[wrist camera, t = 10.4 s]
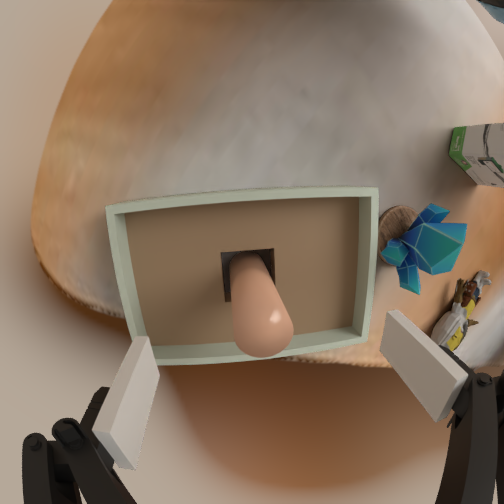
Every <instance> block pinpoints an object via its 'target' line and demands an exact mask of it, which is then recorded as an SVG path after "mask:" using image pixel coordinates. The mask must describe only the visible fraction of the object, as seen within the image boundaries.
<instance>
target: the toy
mask: <svg viewBox="0 0 504 504" xmlns="http://www.w3.org/2000/svg"><path fill="white" fill-rule="evenodd" d="M487 277H489V273H488V272H485V271H479V272H478V274H477V275H476V277H475V279H474V280H473V282H471V281H467V283H466V284H465V286H464V287H463V283H464V280H462V279H461V278H460V279H458V280H457V286H456V294H455V297H454V303H453V307H452V311H449V312H446V313H445V314H444V315H443V316H442V317H441V319H440V320H439V321H438V322H437V324H436V325H435V326H434V329H433V332H432V334H431V337H430V339H431V340H432V341H434V342H435V343H436V344H437V345H438V346H439V345H442V346H444V347H446V348H448V349H450V350H451V351H454V350H455V349H456V348H457V347H458V346H459V344H460V343H461V341H462V340H463V338H464V337H465V335H466V332H467V330H468V327H469V326H471V325H475V324H478V322H477V321H473V320H469V319H468V317H469V316H470V314H471V312H472V311H473V309H474V307H475V306H476V305H477V303H478V302H479V301H480V299H481V297H478V296H479V294H481V292H482V290H481V289H482V287H483V286H484V285H490V284H491V281H490V280H489V279H485V278H487ZM468 280H469V279H468Z"/></svg>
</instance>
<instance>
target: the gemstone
mask: <svg viewBox="0 0 504 504" xmlns="http://www.w3.org/2000/svg"><path fill="white" fill-rule="evenodd" d="M449 212H450V211H449V210H446V209H444V208H441V207H439V206H436V205H434V204H430V205H429V206H428V207H427V208H425V209H424V210H423V211H422V212H421V213H420V214H419V215H418V214H417V213H416V212H415V211H414V210H413V209H412V208H410V207H406V206H395V207H392V208H390V209H389V210H387V211H386V212H385V213H384V214H383V215H382V217H381V218H380V220H379V222H378V244H377V253H378V255H379V257H380V258H381V259H382V260H383V261H384V262H386V263H388V264H390V265H392V266H396V269H397V272H398V275H399V281H400V287H402V288H404V289H407V290H409V291H411V292H414V293H416V294H418V295H420V287H421V286H420V280H419V274H418V268H419V269H421V270H423V271H425V272H427V273H429V274H431V275H436V274H440V273H445V272H449V271H451V270H452V268H453V266H454V264H455V262H456V260H457V258H458V255H459V253H460V251H461V249H462V246H463V244H464V241H465V236H466V229H467V224H461V223H440V222H441V221H442V220H443V219H444V218H445V217H446V216H447V214H448V213H449ZM417 267H418V268H417Z"/></svg>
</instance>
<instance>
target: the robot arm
mask: <svg viewBox="0 0 504 504" xmlns="http://www.w3.org/2000/svg"><path fill="white" fill-rule="evenodd" d="M476 1H478V2H479V3H481V5H482V6H483V7H484V8H485V9H486V10H487V11H488V12H489V14H490V15H491V16H492V17H493V18H494V19H496V20H497V21H499V22H501V23H503V24H504V0H476ZM380 352H381V353H382V354H383V355H384V357H385V358H386V359H387V360H388V362H389V363H390V364H391V365H392V367H393V368H394V369H395V370H396V372H397V373H398V374H399V375H400V377H401V378H402V379H403V381H404V382H405V383H406V384H407V386H408V387H409V388H410V390H411V391H412V392H413V394H414V395H415V396H416V397H417V399H418V400H419V401H420V403H421V404H422V405H423V407H424V408H425V409H426V410H427V412H428V413H429V415H430V416H431V417H432V418H433V420H434V421H435V422H438V421H440V420H442V419H444V418H446V417H447V416H448V414H449V412H450V410H451V409H453V411H455V413H454V414H453V416H452V418H451V420H450V421H449V423H448V425H447V428H448V427H449V426H450V424H451V423H452V426H451V434H450V440H449V447H448V452H447V458H446V463H445V467H444V472H443V477H442V480H441V485H440V489H439V492H438V495H437V499H436V502H435V504H492V501H493V494H494V488H495V480H496V484H497V496H498V504H504V370H503V372H502V374H501V376H498V377H494V378H492V377H491V376H489V375H488V374H486V373H477V374H475V373H474V372H473V371H472V370H471V369H470V368H469V367H468V366H467V365H466V364H465V363H464V362H463V361H461V360H459V358H458V357H457V356H456V355H454V353H453V352H452V351H451V350H450V349H448V348H446V347H444V346H442V345H439V346H438V345H437V344H436V343H435V342H434V341H432V340H431V339H430V338H429V337H428V336H427V335H426V334H425V333H424V332H423V331H421V330H420V329H419V328H418V327H417V326H416V325H415V324H414V323H412V322H411V321H410V320H409V319H408V318H407V317H406V316H405V315H403V314H402V313H401V312H400V311H399V310H398V309H397V310H392V311H387V314H386V320H385V326H384V331H383V336H382V341H381V346H380ZM159 377H160V374H159V371H158V368H157V364H156V361H155V358H154V354H153V351H152V348H151V344H150V340H149V337H148V336H135V338H134V340H133V342H132V344H131V346H130V348H129V350H128V352H127V354H126V356H125V358H124V360H123V362H122V364H121V366H120V368H119V370H118V372H117V374H116V377H115V379H114V381H113V383H112V385H111V387H110V388H109V387H101V388H100V389H99V390H98V391H97V392H96V393H95V394H94V396H93V398H92V400H91V403H90V404H89V406H88V409H87V410H86V412H85V414H84V416H83V418H82V420H81V423H80V424H79V423H78V422H77V421H76V420H75V419H73V418H63V419H60V420H59V421H57V422H56V423H55V424H54V425H53V428H52V435H53V437H54V438H55V439H56V441H47V439H46V438H45V437H44V436H43V435H42V434H40V433H32V434H30V435H28V436H27V437H26V438H25V439H24V442H23V449H22V451H23V452H22V479H23V496H24V504H82V501H81V497H80V492H79V488H80V491H81V493H82V494H83V497H84V498H85V500H86V502H87V504H137V503H136V502H135V500H134V499H133V497H132V496H131V495H130V493H129V492H128V490H127V489H126V487H125V486H124V484H123V483H122V481H121V480H120V479H119V477H118V475H117V474H116V472H115V470H114V469H113V464H114V461H115V463H116V464H117V465H118V466H119V468H125V469H131V470H136V468H137V463H138V459H139V454H140V450H141V446H142V442H143V438H144V433H145V430H146V425H147V421H148V418H149V414H150V410H151V406H152V403H153V399H154V395H155V392H156V388H157V384H158V380H159ZM78 486H79V487H78Z"/></svg>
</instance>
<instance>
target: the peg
mask: <svg viewBox="0 0 504 504" xmlns="http://www.w3.org/2000/svg"><path fill="white" fill-rule="evenodd" d="M229 271H230V287H231V302H232V317H233V331H234V340H235V343H236V345H237V346H238V348H239V349H240V350H241V351H242V352H244V353H245V354H247V355H249V356H252V357H257V358H265V357H270V356H273V355H276V354H278V353H280V352H281V351H283V350H284V349H285V348H286V347H287V346H288V345H289V343H290V341H291V340H292V337H293V332H294V329H293V324H292V321H291V319H290V317H289V315H288V313H287V310H286V308H285V306H284V304H283V302H282V300H281V298H280V296H279V294H278V291H277V289H276V287H275V285H274V283H273V281H272V279H271V277H270V275H269V272H268V270H267V268H266V266H265V264H264V262H263V260H262V258H261V257H260V256H259V255H258V254H257V253H255V252H252V251H242V252H240V253H238V254H236V255H235V256H234V257H233V258H232V260H231V262H230V266H229Z"/></svg>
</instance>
